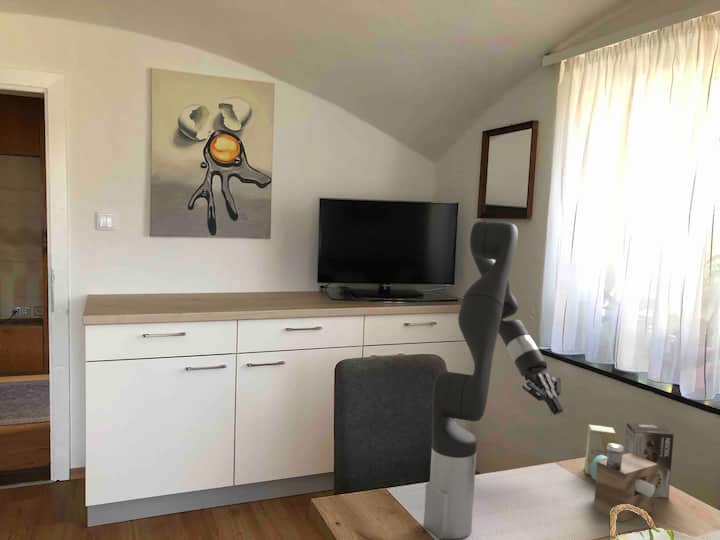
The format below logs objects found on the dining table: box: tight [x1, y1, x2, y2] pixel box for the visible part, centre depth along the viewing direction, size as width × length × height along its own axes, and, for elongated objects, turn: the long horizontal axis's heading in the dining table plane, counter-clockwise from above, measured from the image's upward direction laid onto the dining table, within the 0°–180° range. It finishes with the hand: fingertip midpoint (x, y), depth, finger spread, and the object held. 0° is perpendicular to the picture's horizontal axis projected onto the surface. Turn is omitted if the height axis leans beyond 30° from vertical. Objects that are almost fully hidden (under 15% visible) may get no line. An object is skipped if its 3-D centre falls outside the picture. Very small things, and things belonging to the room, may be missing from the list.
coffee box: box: [624, 422, 675, 499], centre depth 143 cm, size 9×6×16 cm
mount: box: [593, 453, 658, 522], centre depth 134 cm, size 12×7×11 cm, turn 120°
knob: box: [590, 455, 655, 497], centre depth 134 cm, size 6×14×6 cm, turn 30°
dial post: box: [607, 443, 625, 470], centre depth 131 cm, size 3×3×5 cm
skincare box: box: [583, 424, 616, 476], centre depth 153 cm, size 6×4×12 cm
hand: (558, 413), depth 149 cm, fingers closed
